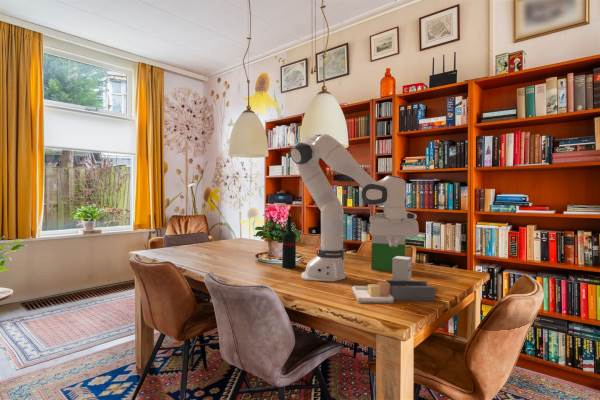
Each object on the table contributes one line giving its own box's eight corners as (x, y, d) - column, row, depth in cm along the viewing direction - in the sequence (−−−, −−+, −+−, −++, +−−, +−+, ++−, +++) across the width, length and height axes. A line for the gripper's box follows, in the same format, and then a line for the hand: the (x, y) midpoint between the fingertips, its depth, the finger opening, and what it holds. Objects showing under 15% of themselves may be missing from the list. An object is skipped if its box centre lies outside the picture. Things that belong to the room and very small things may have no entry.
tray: (358, 302, 132) (358, 297, 132) (352, 290, 148) (352, 286, 148) (393, 303, 132) (393, 298, 132) (383, 290, 148) (383, 286, 148)
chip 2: (380, 294, 137) (380, 284, 137) (377, 291, 141) (377, 281, 141) (390, 293, 138) (390, 283, 138) (386, 290, 142) (386, 281, 142)
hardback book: (404, 269, 189) (404, 226, 189) (404, 272, 182) (405, 227, 181) (372, 266, 194) (372, 225, 193) (371, 269, 187) (372, 226, 186)
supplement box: (407, 287, 154) (408, 259, 154) (391, 284, 158) (391, 257, 158) (411, 283, 160) (412, 257, 160) (396, 281, 164) (396, 255, 164)
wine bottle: (298, 265, 197) (299, 213, 196) (293, 268, 187) (294, 215, 186) (285, 264, 199) (286, 213, 198) (280, 267, 189) (280, 214, 188)
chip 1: (380, 296, 138) (370, 296, 137) (376, 293, 142) (367, 293, 141) (380, 286, 138) (370, 287, 137) (376, 284, 142) (367, 284, 141)
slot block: (392, 300, 135) (392, 286, 135) (385, 292, 145) (386, 280, 145) (434, 301, 135) (434, 287, 135) (425, 293, 145) (425, 280, 145)
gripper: (371, 214, 139) (370, 247, 140) (420, 215, 139) (419, 248, 140) (368, 212, 146) (367, 244, 146) (415, 213, 146) (414, 245, 146)
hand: (393, 246), depth 143 cm, fingers closed
